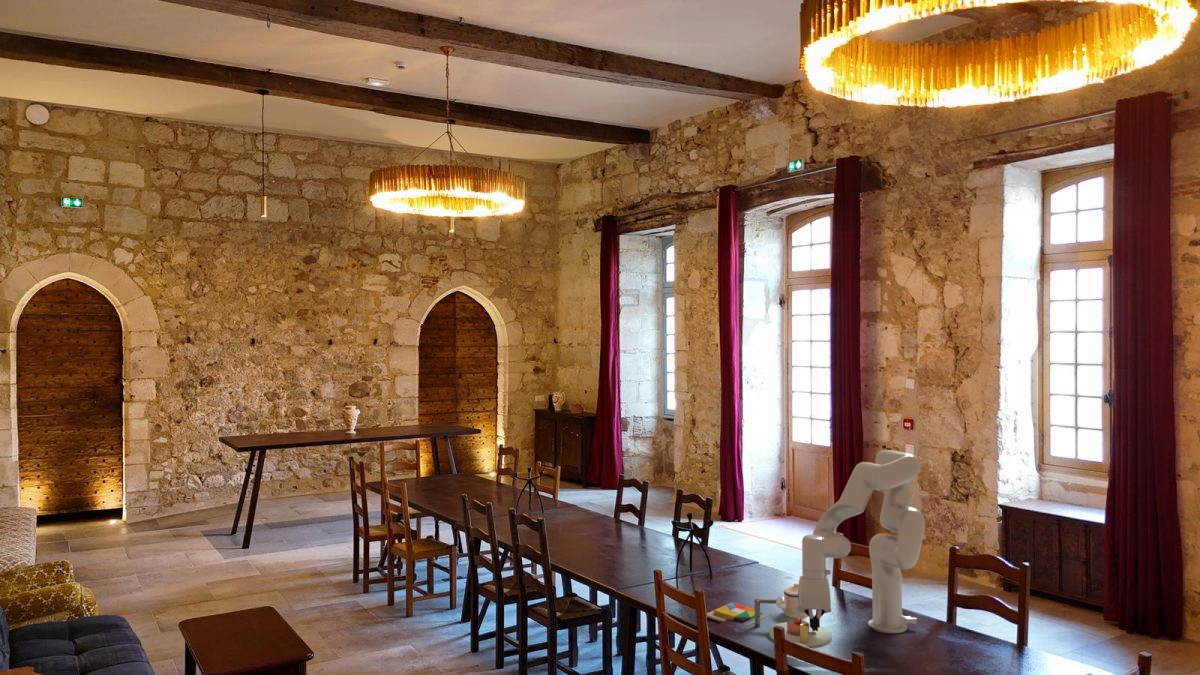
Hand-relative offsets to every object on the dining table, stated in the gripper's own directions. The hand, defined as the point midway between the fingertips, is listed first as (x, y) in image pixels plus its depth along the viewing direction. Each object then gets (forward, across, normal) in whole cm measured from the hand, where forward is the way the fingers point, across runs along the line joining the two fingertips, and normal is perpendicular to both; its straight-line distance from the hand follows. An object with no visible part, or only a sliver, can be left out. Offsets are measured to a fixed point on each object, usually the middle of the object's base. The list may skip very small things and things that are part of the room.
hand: (814, 629), depth 282 cm
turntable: (+2, +5, 0) cm, 5 cm away
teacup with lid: (+4, +4, -22) cm, 23 cm away
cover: (+1, +5, 0) cm, 5 cm away
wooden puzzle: (+4, +24, -21) cm, 32 cm away
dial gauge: (+3, +14, -9) cm, 17 cm away
